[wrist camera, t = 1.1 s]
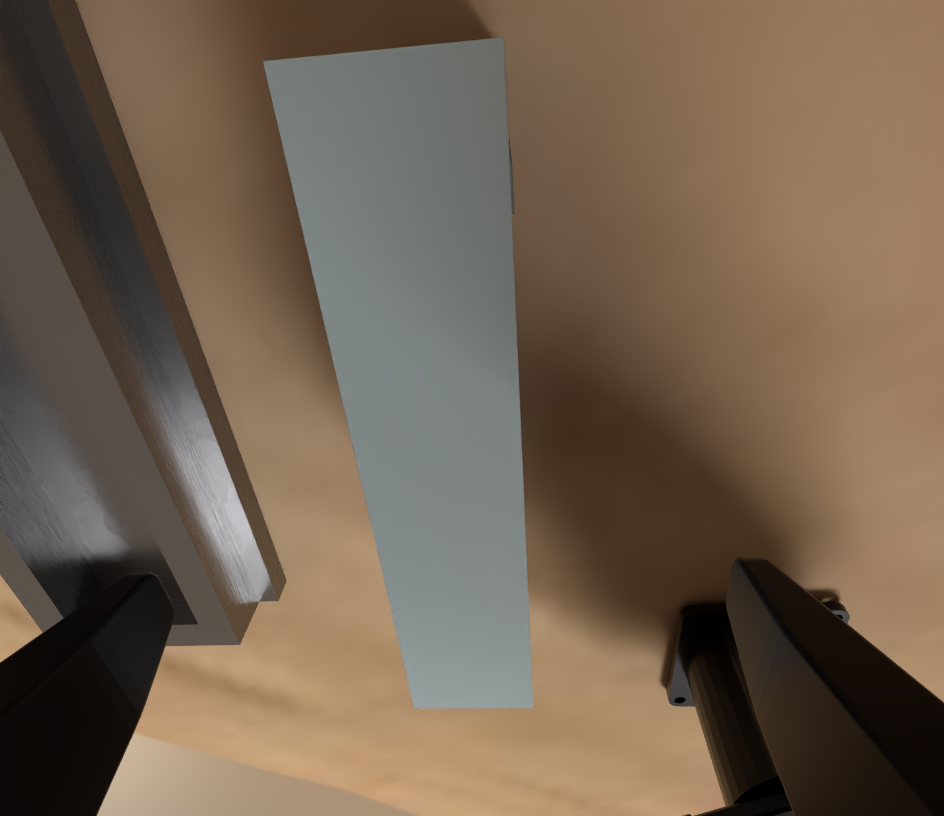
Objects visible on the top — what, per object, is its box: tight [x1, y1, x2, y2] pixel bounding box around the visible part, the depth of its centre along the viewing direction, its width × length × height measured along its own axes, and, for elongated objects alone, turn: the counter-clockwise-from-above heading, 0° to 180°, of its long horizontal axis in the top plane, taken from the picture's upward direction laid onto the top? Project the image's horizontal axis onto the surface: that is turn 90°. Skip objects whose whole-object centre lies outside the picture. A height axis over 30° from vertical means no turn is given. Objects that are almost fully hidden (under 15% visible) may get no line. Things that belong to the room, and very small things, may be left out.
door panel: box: [263, 37, 533, 708], centre depth 14 cm, size 14×3×8 cm, turn 5°
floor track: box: [0, 0, 286, 646], centre depth 17 cm, size 22×9×3 cm, turn 5°
